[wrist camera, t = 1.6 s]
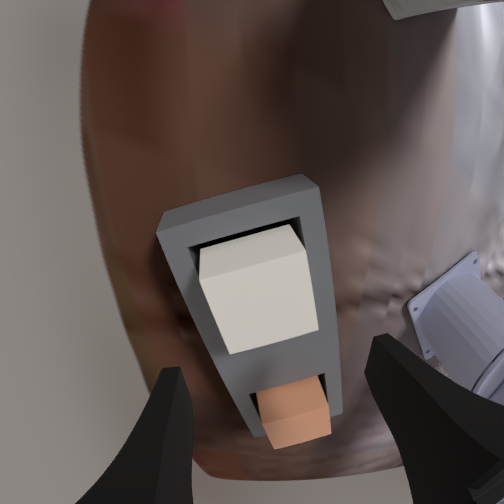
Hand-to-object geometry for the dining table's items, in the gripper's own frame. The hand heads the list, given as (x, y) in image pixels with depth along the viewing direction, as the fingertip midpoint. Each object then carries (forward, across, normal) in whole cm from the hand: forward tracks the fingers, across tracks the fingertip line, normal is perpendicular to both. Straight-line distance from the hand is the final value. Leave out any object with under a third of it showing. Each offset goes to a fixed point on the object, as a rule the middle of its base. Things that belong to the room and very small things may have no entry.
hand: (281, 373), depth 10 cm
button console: (+9, -1, +6) cm, 11 cm away
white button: (+7, 0, 0) cm, 7 cm away
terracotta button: (+7, -2, +12) cm, 14 cm away
